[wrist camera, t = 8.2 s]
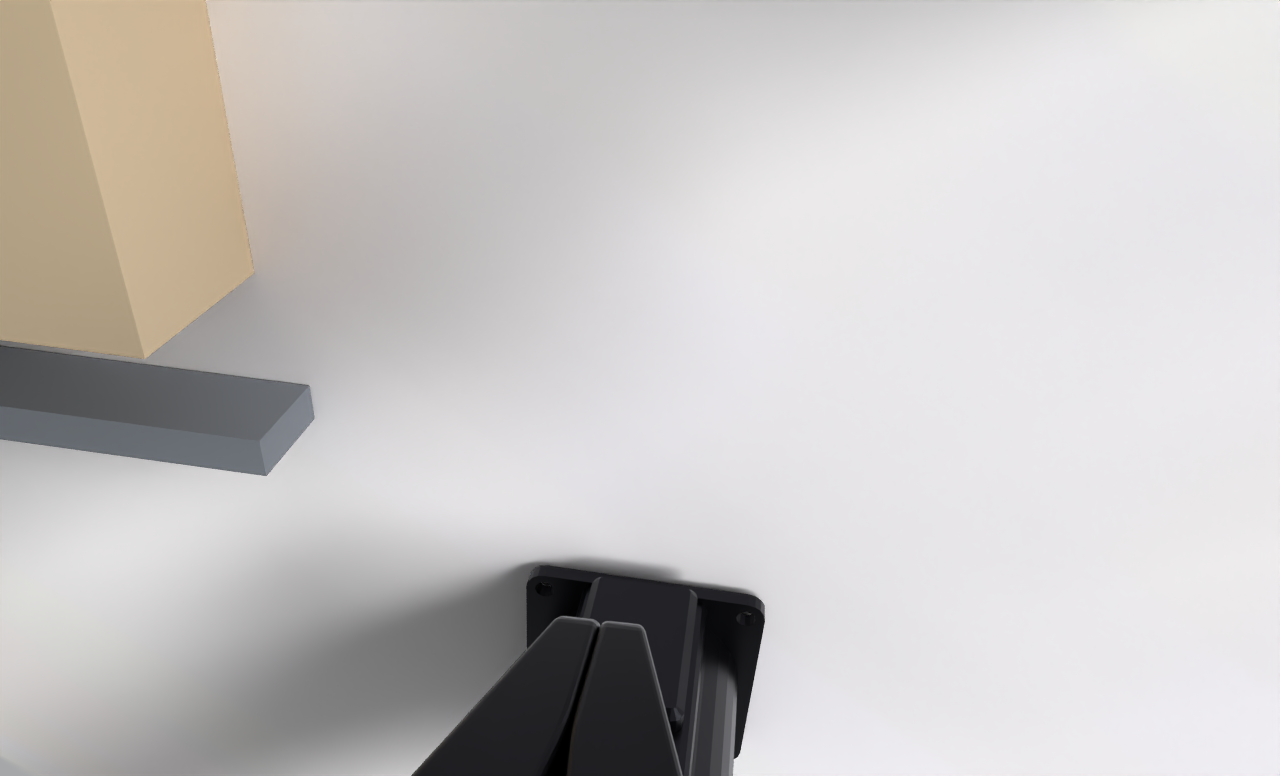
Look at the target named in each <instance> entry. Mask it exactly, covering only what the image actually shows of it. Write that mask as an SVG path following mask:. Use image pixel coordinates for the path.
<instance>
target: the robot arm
mask: <svg viewBox="0 0 1280 776" xmlns="http://www.w3.org/2000/svg"><path fill="white" fill-rule="evenodd" d="M542 582H545V583H548V584H550V585H551V586H546V585H543V584H542ZM526 589H527V650H526V651H525V652H524V653H523V654H522V655H521V656H520V657H519V659H518V660H517V661H516V662H515V663H514V664H513V665H512V666H511V667H510V668H509V669H508V671H507V672H506V673H505V674H504V675H503V676H502V677H501V678H500V679H499V680H498V682H497V683H496V684H495V685H494V686H493V687H492V688H491V689H490V690H489V691H488V692H487V694H486V695H485V696H484V697H483V698H482V699H481V700H480V701H479V702H478V703H477V704H476V706H475V707H474V708H473V709H472V710H471V711H470V712H469V713H468V714H467V715H466V716H465V718H464V719H463V720H462V721H461V722H460V723H459V724H458V725H457V726H456V727H455V728H454V730H453V731H452V732H451V733H450V734H449V735H448V736H447V737H446V738H445V739H444V740H443V742H442V743H441V744H440V745H439V746H438V747H437V748H436V749H435V750H434V751H433V753H432V754H431V755H430V756H429V757H428V758H427V759H426V760H425V761H424V762H423V763H422V765H421V766H420V767H419V768H418V769H417V770H416V771H415V772H414V773H413V774H412V775H411V776H733V763H734V759H735V758H736V757H738V755H739V754H740V750H741V745H742V739H743V734H744V729H745V723H746V718H747V713H748V708H749V702H750V697H751V692H752V686H753V681H754V676H755V670H756V665H757V660H758V654H759V649H760V644H761V639H762V633H763V628H764V623H765V605H764V604H763V602H762V601H761V600H760V599H758V598H757V597H755V596H752V595H748V594H741V593H734V592H727V591H720V590H713V589H706V588H699V587H693V586H686V585H679V584H672V583H665V582H658V581H651V580H644V579H637V578H630V577H623V576H616V575H609V574H602V573H595V572H588V571H581V570H574V569H567V568H560V567H553V566H539V567H536V568H535V569H534V570H533V571H532V572H531V574H530V577H529V580H528V583H527V587H526ZM741 612H749V613H752V614H751V615H744V614H741Z"/></svg>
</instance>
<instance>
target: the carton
mask: <svg viewBox="0 0 1280 776" xmlns="http://www.w3.org/2000/svg"><path fill="white" fill-rule="evenodd" d="M253 274H254V268H253V262H252V257H251V251H250V246H249V240H248V235H247V229H246V223H245V218H244V212H243V207H242V201H241V196H240V190H239V184H238V179H237V173H236V168H235V162H234V157H233V151H232V145H231V140H230V134H229V129H228V123H227V117H226V112H225V106H224V101H223V95H222V90H221V84H220V78H219V73H218V67H217V62H216V56H215V51H214V45H213V39H212V34H211V28H210V23H209V17H208V12H207V6H206V0H0V340H4V341H11V342H19V343H26V344H34V345H42V346H49V347H57V348H65V349H72V350H80V351H87V352H95V353H103V354H110V355H118V356H126V357H133V358H141V359H146V358H147V357H148V356H150V355H151V354H152V353H153V352H155V351H156V350H157V349H159V348H160V347H161V346H162V345H164V344H165V343H166V342H167V341H169V340H170V339H171V338H173V337H174V336H175V335H176V334H178V333H179V332H180V331H181V330H183V329H184V328H185V327H187V326H188V325H189V324H190V323H192V322H193V321H194V320H196V319H197V318H198V317H199V316H201V315H202V314H203V313H204V312H206V311H207V310H208V309H210V308H211V307H212V306H213V305H215V304H216V303H217V302H218V301H220V300H221V299H222V298H224V297H225V296H226V295H227V294H229V293H230V292H231V291H232V290H234V289H235V288H236V287H238V286H239V285H240V284H241V283H243V282H244V281H245V280H246V279H248V278H249V277H250V276H252V275H253Z"/></svg>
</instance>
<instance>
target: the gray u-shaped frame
mask: <svg viewBox="0 0 1280 776" xmlns="http://www.w3.org/2000/svg"><path fill="white" fill-rule="evenodd" d="M313 420H314V413H313V407H312V400H311V394H310V388H309V386H307V385H299V384H291V383H284V382H276V381H268V380H260V379H253V378H245V377H237V376H229V375H222V374H214V373H206V372H198V371H190V370H183V369H175V368H167V367H159V366H152V365H144V364H136V363H128V362H120V361H113V360H105V359H97V358H89V357H82V356H74V355H66V354H58V353H51V352H43V351H35V350H27V349H19V348H12V347H4V346H0V439H3V440H10V441H17V442H25V443H32V444H39V445H46V446H54V447H61V448H68V449H75V450H82V451H90V452H97V453H104V454H111V455H119V456H126V457H133V458H140V459H147V460H155V461H162V462H169V463H176V464H183V465H191V466H198V467H205V468H212V469H220V470H227V471H234V472H241V473H248V474H256V475H263V476H267V475H268V473H269V472H270V471H271V470H272V469H273V467H274V466H275V465H276V464H277V463H278V462H279V460H280V459H281V458H282V457H283V456H284V454H285V453H286V452H287V451H288V450H289V448H290V447H291V446H292V445H293V444H294V442H295V441H296V440H297V439H298V438H299V436H300V435H301V434H302V433H303V432H304V430H305V429H306V428H307V427H308V426H309V425H310V423H311V422H312V421H313Z"/></svg>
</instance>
